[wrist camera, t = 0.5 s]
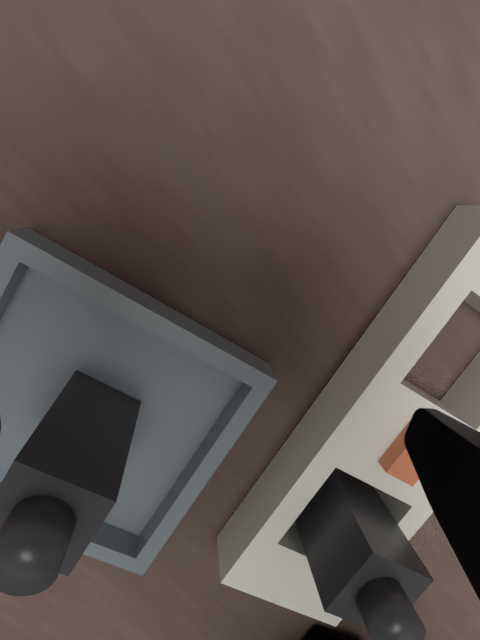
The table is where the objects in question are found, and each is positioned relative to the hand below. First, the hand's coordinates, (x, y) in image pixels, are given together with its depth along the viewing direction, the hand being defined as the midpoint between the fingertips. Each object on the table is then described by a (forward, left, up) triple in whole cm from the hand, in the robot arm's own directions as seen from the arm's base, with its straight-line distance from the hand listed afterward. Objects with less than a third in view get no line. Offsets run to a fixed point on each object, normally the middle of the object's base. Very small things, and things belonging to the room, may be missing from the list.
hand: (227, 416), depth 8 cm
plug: (-10, +2, -13) cm, 17 cm away
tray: (-10, +2, -14) cm, 17 cm away
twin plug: (-8, -14, -14) cm, 22 cm away
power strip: (-2, -14, -14) cm, 20 cm away
